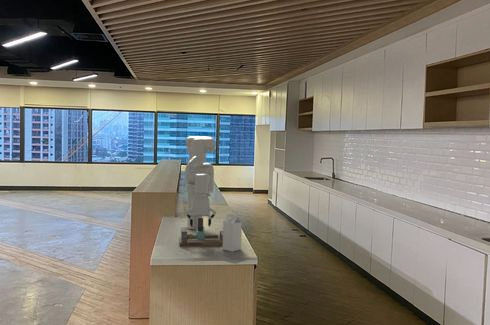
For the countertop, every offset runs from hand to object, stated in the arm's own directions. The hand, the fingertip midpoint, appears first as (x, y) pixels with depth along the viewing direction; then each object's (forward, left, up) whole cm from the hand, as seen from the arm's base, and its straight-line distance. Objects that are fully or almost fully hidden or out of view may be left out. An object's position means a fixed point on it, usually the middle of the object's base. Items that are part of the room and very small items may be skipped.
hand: (200, 226), depth 247 cm
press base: (0, +1, -10) cm, 10 cm away
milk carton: (+14, +16, -10) cm, 24 cm away
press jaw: (0, 0, -8) cm, 8 cm away
